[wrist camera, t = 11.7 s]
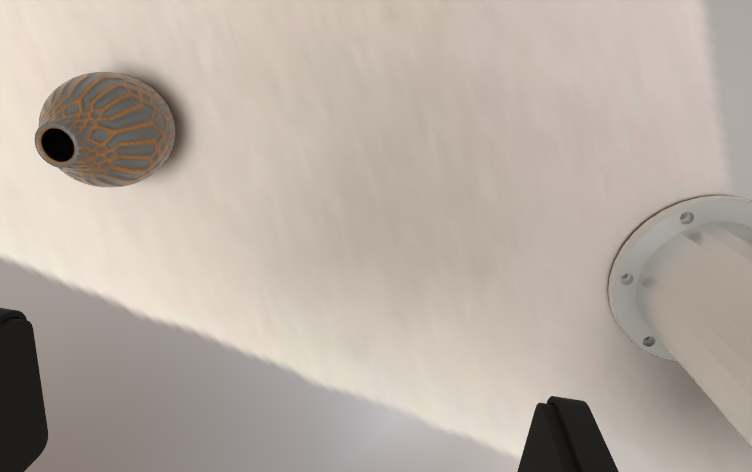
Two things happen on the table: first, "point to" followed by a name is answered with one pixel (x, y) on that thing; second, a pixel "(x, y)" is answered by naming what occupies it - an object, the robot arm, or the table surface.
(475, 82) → the table surface
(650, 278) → the robot arm
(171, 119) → the vase
